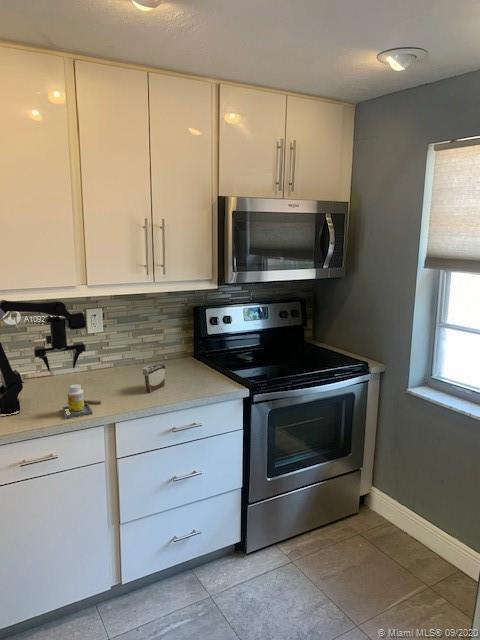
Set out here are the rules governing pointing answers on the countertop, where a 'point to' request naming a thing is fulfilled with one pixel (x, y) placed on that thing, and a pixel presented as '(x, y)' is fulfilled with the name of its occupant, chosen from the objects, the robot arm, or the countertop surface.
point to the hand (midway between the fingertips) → (61, 369)
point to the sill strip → (92, 402)
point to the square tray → (86, 412)
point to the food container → (154, 377)
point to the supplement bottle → (75, 399)
